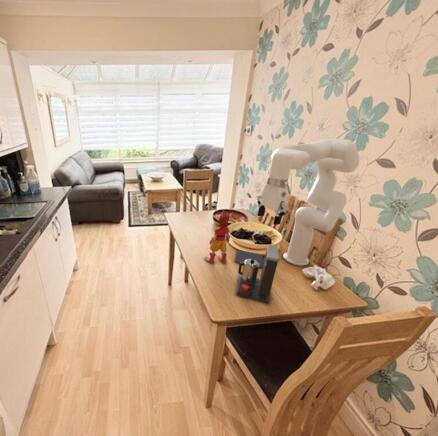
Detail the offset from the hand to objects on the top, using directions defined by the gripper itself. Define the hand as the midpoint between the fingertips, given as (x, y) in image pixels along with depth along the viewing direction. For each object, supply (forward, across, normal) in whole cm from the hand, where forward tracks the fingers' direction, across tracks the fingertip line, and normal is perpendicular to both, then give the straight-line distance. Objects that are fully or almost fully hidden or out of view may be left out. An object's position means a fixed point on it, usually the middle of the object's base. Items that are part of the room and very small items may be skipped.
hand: (268, 219), depth 105 cm
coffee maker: (+33, -5, +5) cm, 34 cm away
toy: (+34, +22, +8) cm, 41 cm away
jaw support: (+33, -11, -28) cm, 45 cm away
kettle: (+30, -1, +6) cm, 31 cm away
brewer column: (+30, -4, +4) cm, 31 cm away
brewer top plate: (+33, +17, -11) cm, 39 cm away
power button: (+31, -6, +11) cm, 33 cm away
